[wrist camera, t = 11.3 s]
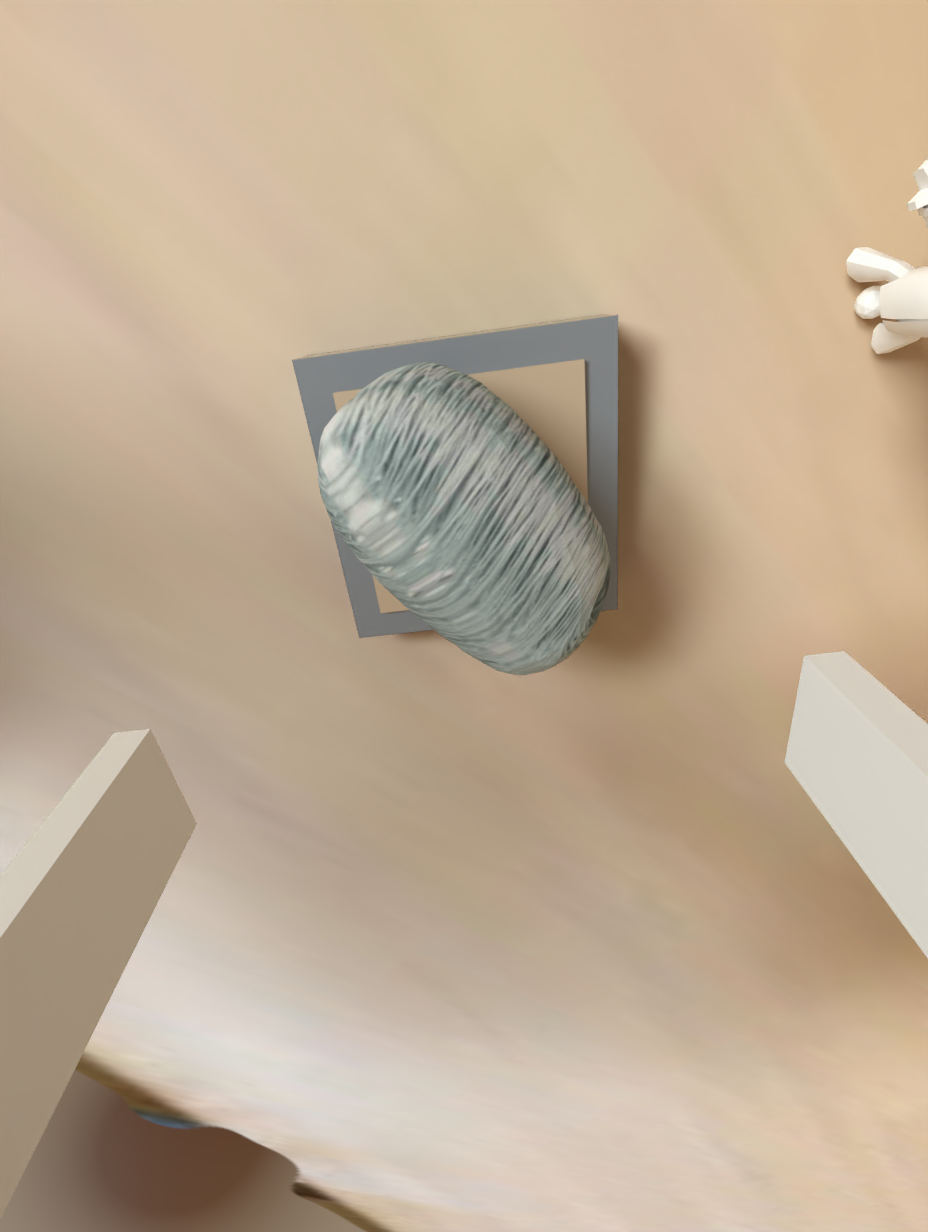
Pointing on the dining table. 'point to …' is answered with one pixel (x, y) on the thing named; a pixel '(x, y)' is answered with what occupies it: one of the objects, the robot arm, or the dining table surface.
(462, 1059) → the dining table surface
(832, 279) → the dining table surface
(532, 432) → the grey streaked ellipsoid
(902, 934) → the dining table surface
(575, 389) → the stand
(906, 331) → the figurine
